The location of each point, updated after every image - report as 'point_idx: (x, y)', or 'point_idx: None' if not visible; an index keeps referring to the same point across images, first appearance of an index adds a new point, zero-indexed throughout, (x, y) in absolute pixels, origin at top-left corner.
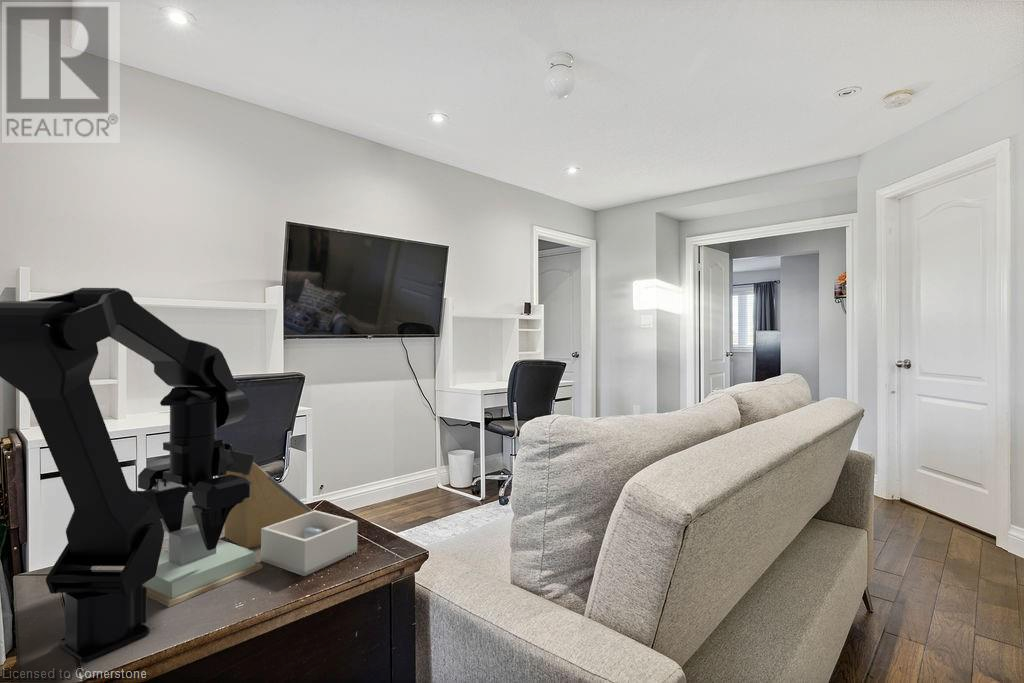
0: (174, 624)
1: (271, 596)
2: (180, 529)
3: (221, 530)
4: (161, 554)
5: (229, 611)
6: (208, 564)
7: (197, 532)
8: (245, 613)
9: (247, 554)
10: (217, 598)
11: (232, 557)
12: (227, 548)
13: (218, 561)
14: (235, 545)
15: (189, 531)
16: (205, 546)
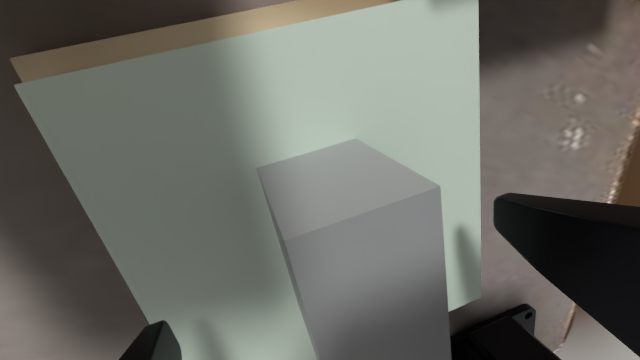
0: (529, 264)
1: (609, 56)
2: (156, 341)
3: (629, 210)
4: (190, 326)
5: (578, 166)
6: (443, 192)
7: (445, 295)
8: (612, 141)
9: (476, 31)
10: (505, 171)
11: (454, 98)
12: (332, 75)
13: (447, 156)
14: (323, 24)
15: (406, 334)
16: (513, 244)
